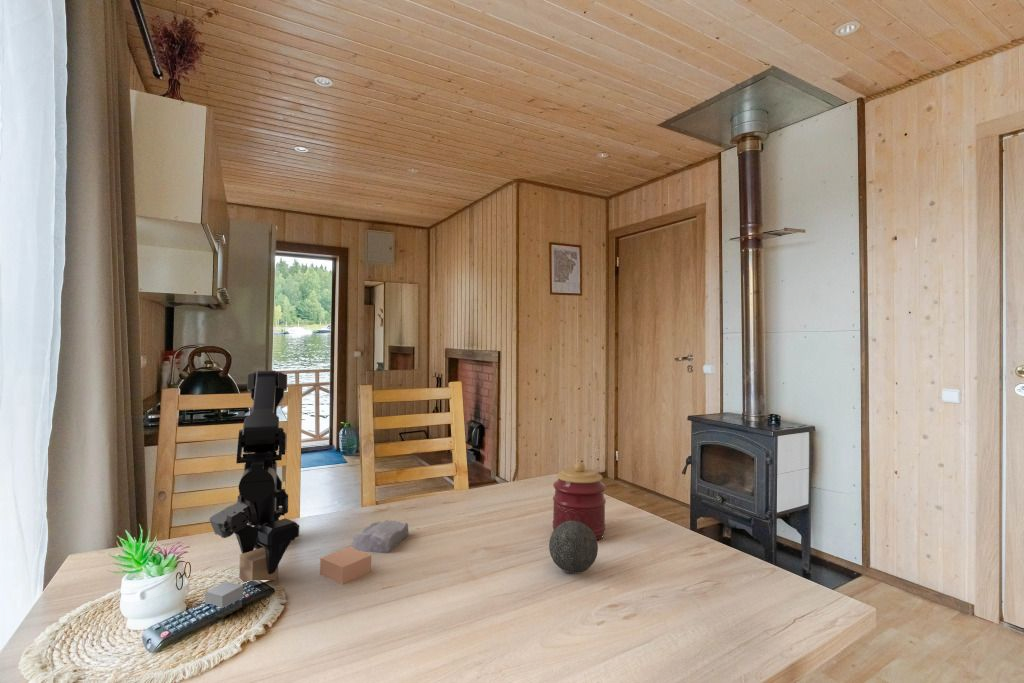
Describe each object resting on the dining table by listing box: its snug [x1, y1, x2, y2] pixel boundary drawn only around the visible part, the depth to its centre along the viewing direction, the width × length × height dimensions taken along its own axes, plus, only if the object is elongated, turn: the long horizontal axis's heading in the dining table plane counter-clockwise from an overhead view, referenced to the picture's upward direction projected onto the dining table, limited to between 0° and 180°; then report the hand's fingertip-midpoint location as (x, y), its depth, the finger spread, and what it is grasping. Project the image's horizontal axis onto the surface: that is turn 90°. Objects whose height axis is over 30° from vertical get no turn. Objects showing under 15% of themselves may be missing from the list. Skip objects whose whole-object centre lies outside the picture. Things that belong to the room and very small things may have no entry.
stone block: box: [352, 519, 409, 554], centre depth 116 cm, size 12×5×10 cm
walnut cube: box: [239, 547, 279, 583], centre depth 97 cm, size 5×5×5 cm
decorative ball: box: [548, 521, 599, 574], centre depth 103 cm, size 10×10×10 cm
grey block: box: [204, 580, 244, 608], centre depth 86 cm, size 4×4×4 cm
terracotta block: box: [319, 546, 372, 585], centre depth 101 cm, size 7×7×4 cm
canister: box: [552, 461, 607, 540], centre depth 123 cm, size 13×13×18 cm
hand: (258, 566), depth 97 cm, fingers open, 9 cm apart
